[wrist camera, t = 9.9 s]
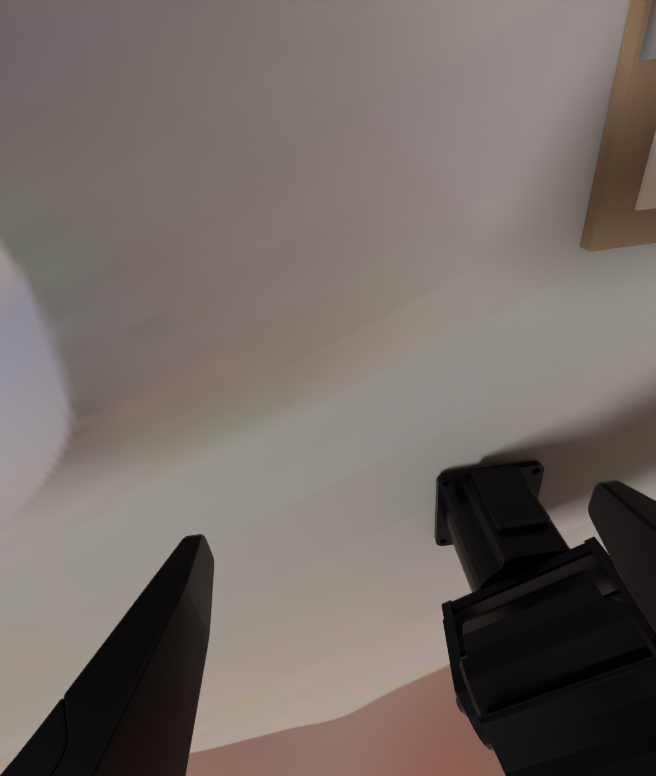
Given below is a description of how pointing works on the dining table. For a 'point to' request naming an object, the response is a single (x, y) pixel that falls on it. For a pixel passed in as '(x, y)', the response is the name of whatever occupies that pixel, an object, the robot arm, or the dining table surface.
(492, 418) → the dining table surface
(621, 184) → the clipboard
